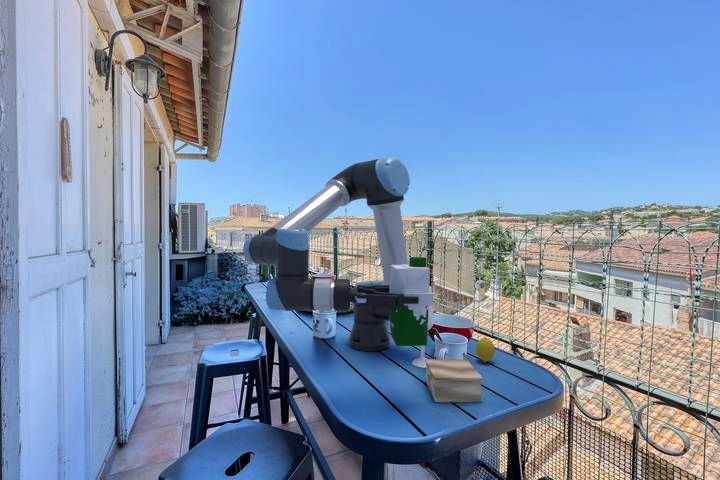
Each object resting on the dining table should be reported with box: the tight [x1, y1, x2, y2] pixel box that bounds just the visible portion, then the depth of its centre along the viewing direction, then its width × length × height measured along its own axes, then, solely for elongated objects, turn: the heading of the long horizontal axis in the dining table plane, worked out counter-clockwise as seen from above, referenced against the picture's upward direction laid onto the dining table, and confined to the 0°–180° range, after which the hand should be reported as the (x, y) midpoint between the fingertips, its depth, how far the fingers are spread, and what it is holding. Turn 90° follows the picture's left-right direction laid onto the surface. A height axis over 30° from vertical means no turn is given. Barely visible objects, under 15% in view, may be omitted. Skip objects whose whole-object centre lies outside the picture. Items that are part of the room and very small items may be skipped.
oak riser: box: [425, 358, 484, 403], centre depth 85 cm, size 12×12×6 cm
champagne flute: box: [411, 285, 435, 369], centre depth 103 cm, size 7×7×24 cm
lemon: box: [475, 336, 496, 363], centre depth 104 cm, size 6×6×8 cm
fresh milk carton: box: [388, 256, 431, 347], centre depth 78 cm, size 9×9×20 cm
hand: (428, 295), depth 78 cm, fingers closed on fresh milk carton, 9 cm apart
